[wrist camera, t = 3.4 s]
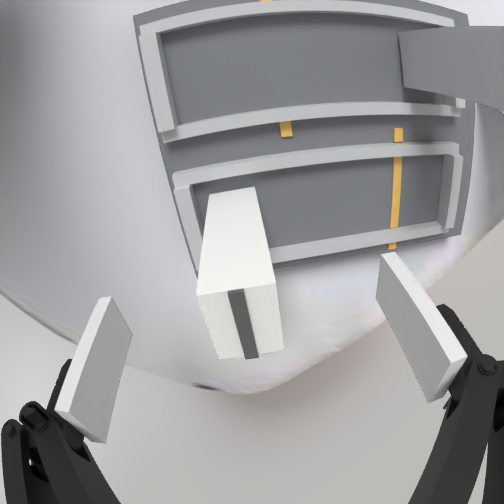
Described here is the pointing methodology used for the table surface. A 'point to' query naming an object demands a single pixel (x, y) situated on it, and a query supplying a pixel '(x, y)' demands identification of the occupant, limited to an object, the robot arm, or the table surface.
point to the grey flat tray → (307, 122)
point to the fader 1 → (238, 278)
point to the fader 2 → (456, 62)
